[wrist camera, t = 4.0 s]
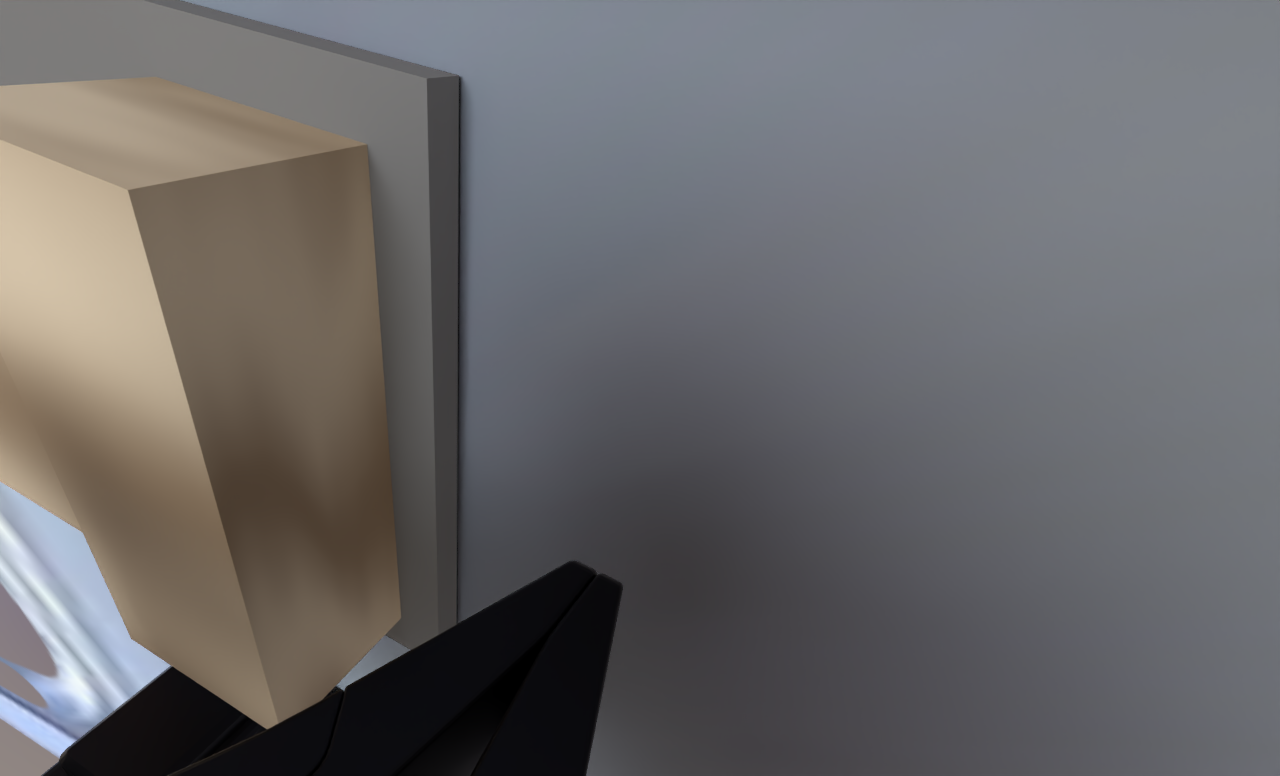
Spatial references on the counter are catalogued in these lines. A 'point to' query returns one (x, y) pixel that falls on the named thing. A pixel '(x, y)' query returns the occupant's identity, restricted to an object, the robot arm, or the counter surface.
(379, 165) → the mat
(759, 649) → the counter surface
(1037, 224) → the counter surface
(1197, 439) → the counter surface
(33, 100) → the t block
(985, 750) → the counter surface
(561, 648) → the robot arm
